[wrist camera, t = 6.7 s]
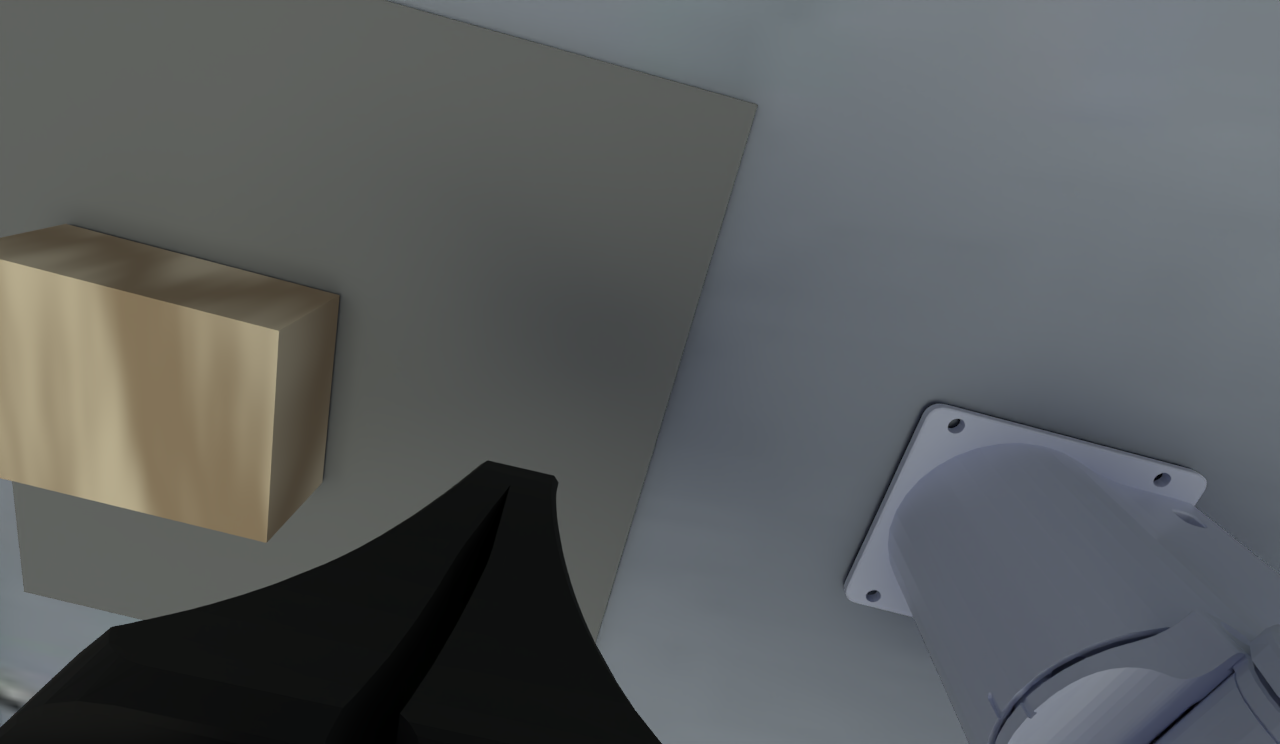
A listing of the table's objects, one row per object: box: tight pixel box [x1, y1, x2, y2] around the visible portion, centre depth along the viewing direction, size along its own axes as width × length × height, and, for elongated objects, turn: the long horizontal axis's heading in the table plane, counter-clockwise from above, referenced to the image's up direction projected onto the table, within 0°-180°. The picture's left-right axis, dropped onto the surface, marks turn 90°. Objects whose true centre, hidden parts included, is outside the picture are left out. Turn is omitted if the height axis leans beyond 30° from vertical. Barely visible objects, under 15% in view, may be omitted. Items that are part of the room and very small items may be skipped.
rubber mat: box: [0, 0, 758, 643], centre depth 23 cm, size 22×24×1 cm
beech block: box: [0, 224, 340, 543], centre depth 21 cm, size 4×7×8 cm
